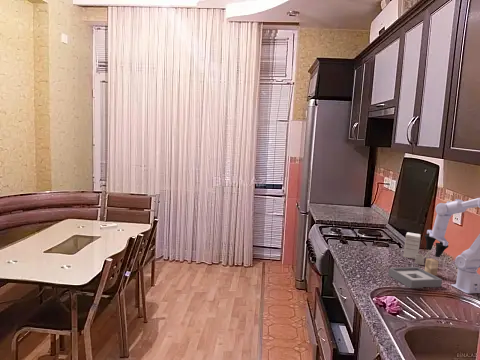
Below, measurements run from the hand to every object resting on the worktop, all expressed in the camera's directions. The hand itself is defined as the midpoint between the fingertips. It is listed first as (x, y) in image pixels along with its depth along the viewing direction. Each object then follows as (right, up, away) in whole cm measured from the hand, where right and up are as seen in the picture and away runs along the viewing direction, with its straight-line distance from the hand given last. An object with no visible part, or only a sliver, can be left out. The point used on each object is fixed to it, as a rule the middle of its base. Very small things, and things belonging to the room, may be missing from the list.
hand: (432, 253), depth 204 cm
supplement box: (+1, -7, +28) cm, 29 cm away
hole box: (-14, -11, -11) cm, 21 cm away
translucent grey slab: (+1, -9, +15) cm, 17 cm away
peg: (-1, -10, +1) cm, 10 cm away
